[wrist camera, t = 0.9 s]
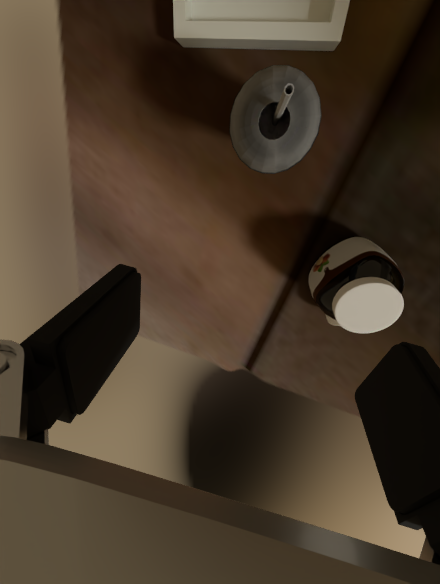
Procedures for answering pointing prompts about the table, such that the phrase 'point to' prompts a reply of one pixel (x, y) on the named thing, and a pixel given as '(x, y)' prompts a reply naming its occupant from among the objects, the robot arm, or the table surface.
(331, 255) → the spread jar
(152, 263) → the table surface
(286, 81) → the beverage cup
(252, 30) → the walled tray
